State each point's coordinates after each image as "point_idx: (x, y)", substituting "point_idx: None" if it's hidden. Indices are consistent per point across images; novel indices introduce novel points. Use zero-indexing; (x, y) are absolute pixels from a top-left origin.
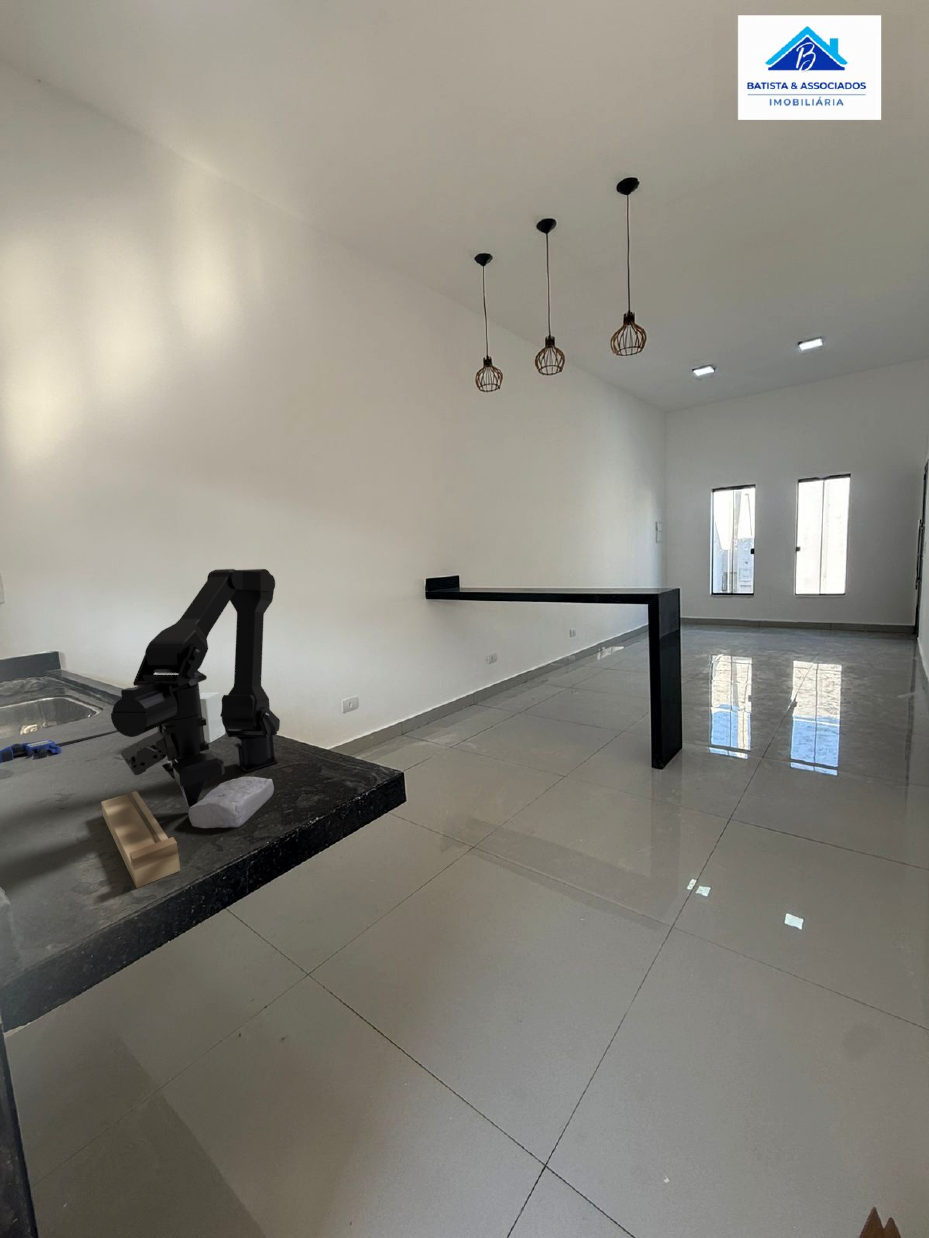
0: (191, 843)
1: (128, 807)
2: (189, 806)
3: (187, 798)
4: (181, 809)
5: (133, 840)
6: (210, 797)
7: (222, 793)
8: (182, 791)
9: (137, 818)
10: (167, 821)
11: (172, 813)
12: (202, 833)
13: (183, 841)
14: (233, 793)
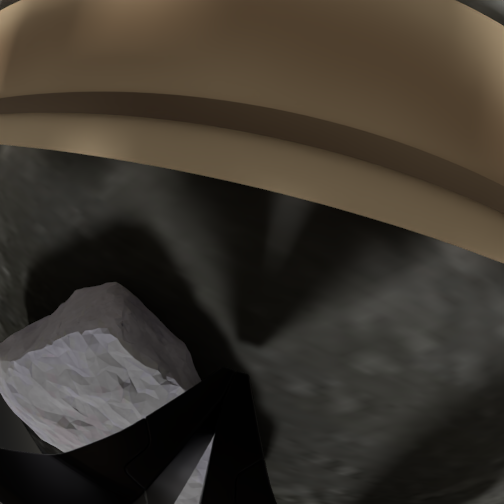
0: (23, 208)
1: (492, 142)
2: (223, 368)
3: (184, 393)
4: (321, 352)
5: (27, 29)
6: (122, 420)
7: (91, 438)
8: (231, 429)
9: (224, 77)
10: (258, 251)
11: (325, 311)
12: (49, 264)
13: (44, 198)
14: (55, 433)
